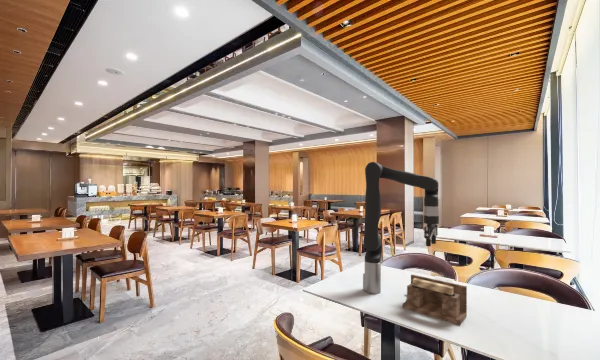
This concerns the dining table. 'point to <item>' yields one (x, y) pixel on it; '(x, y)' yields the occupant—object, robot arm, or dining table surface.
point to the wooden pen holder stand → (438, 301)
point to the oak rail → (434, 286)
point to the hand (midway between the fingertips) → (431, 244)
